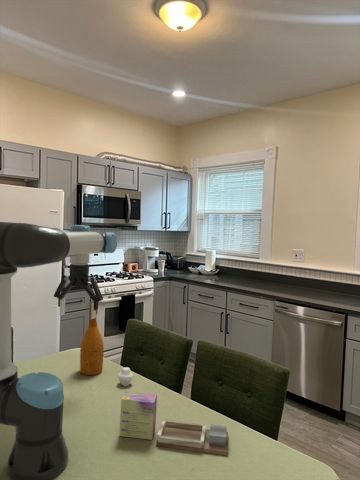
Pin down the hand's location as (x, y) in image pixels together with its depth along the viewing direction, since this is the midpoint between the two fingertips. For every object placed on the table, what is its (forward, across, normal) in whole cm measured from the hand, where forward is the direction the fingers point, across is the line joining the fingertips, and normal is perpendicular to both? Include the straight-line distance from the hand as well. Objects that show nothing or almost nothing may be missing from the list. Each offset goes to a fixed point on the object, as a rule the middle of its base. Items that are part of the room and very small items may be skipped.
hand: (77, 316), depth 144 cm
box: (+28, -35, +25) cm, 51 cm away
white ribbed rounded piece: (+28, -19, -6) cm, 34 cm away
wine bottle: (+27, -1, -13) cm, 30 cm away
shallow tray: (+28, -53, +24) cm, 64 cm away
